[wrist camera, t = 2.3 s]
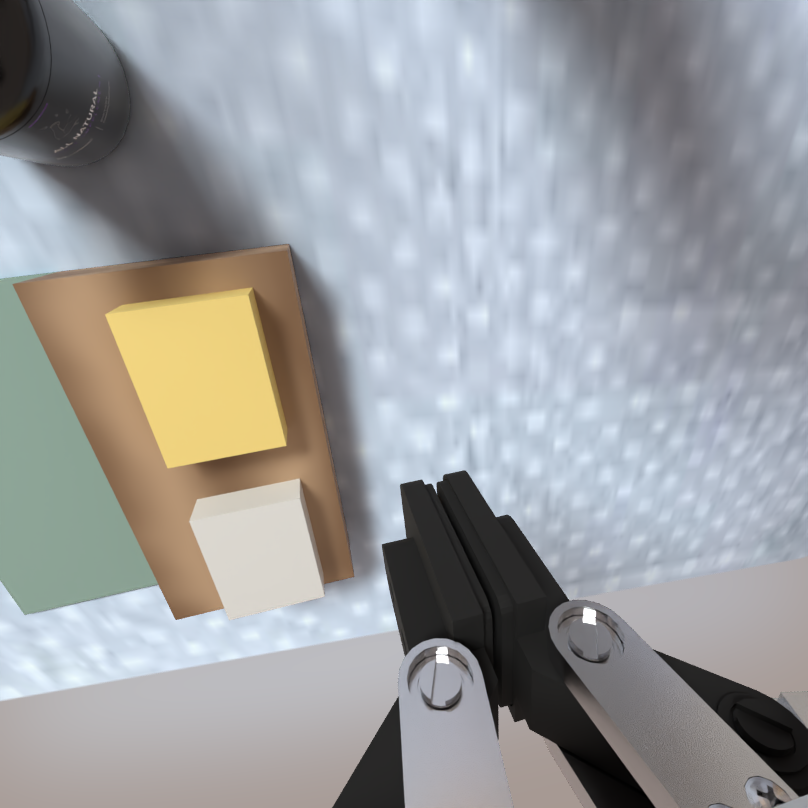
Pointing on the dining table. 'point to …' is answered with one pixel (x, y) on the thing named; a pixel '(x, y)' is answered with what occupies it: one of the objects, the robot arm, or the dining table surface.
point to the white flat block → (259, 548)
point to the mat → (53, 485)
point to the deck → (131, 432)
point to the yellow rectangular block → (202, 374)
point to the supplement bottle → (58, 85)
